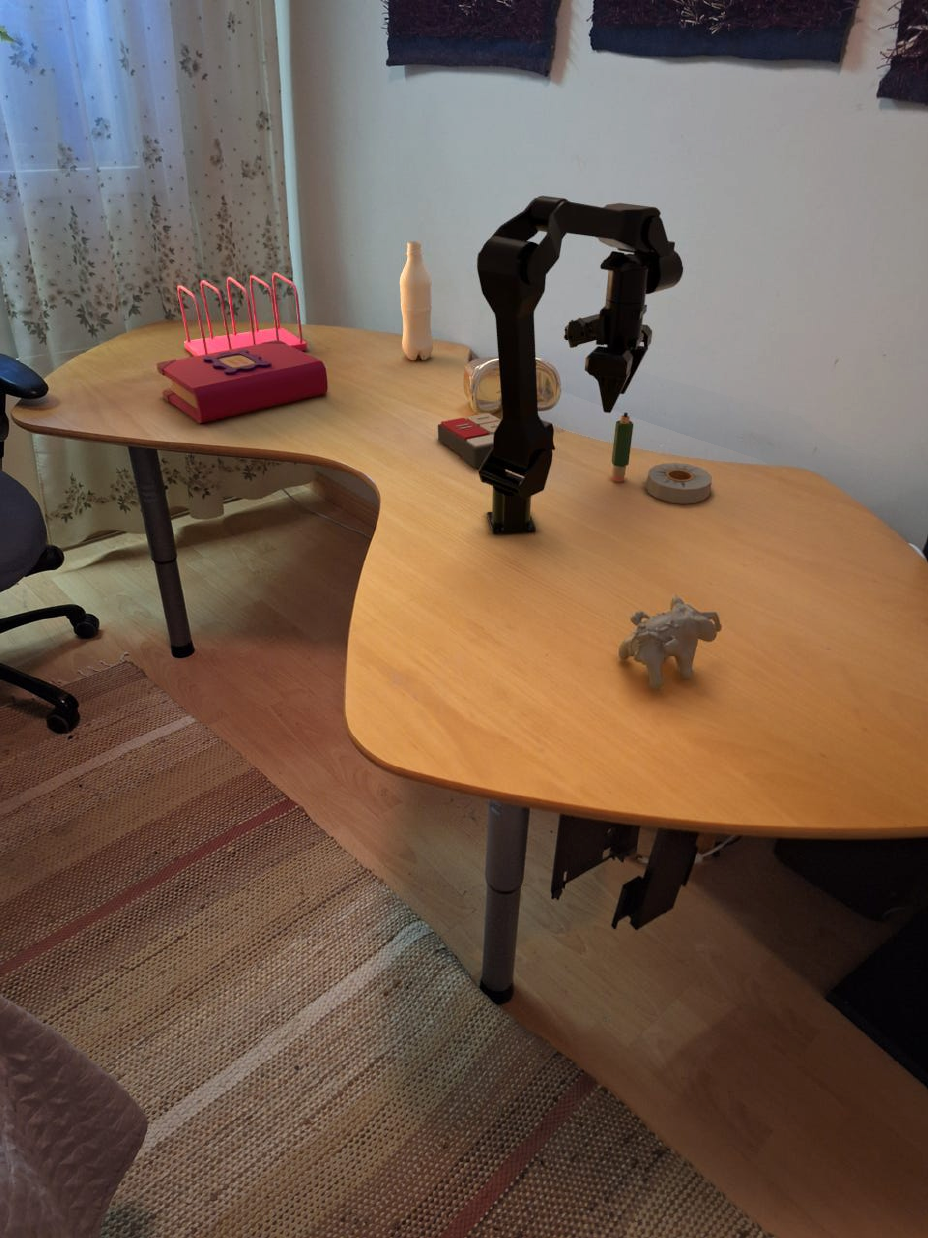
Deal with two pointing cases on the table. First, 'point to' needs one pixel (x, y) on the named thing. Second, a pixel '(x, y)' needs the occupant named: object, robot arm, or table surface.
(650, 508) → the table surface
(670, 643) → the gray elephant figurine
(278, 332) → the file sorter
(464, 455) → the calculator
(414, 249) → the water bottle
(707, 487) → the tape
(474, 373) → the diving goggles
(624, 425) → the pencil
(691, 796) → the table surface
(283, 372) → the book
